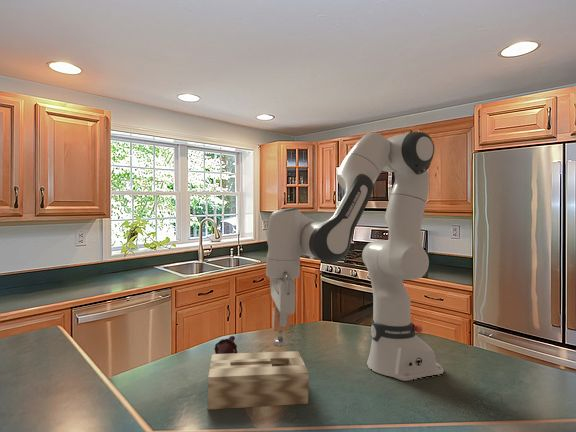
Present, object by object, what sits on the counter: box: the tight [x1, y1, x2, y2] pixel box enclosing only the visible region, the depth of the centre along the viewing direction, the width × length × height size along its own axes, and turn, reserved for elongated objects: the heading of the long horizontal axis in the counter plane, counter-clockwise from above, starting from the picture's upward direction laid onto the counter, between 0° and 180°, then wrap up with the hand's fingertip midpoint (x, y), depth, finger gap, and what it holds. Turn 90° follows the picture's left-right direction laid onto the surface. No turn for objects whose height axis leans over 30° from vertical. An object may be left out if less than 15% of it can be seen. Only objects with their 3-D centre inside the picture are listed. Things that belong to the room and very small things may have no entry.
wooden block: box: [271, 307, 291, 347], centre depth 90 cm, size 4×4×9 cm
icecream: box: [214, 335, 238, 354], centre depth 109 cm, size 7×7×15 cm
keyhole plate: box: [206, 350, 310, 410], centre depth 89 cm, size 24×14×8 cm, turn 99°
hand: (281, 322), depth 90 cm, fingers closed on wooden block, 4 cm apart
